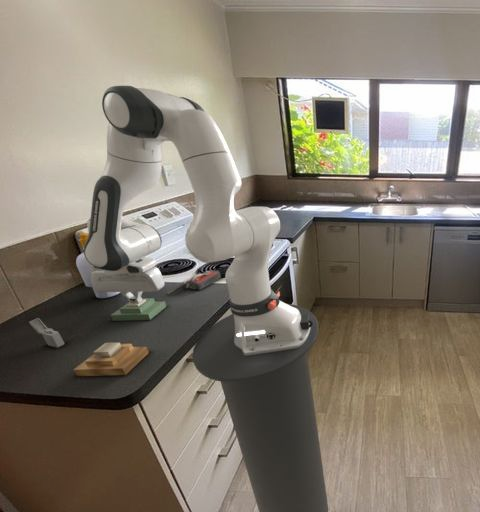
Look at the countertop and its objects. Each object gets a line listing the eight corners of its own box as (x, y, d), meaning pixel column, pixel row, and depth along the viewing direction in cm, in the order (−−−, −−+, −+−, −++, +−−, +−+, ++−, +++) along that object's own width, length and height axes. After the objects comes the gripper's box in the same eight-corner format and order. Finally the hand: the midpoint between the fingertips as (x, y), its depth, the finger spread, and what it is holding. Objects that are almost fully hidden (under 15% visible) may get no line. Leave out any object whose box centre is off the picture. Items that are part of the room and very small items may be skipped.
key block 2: (148, 353, 80) (144, 341, 78) (125, 375, 72) (120, 362, 71) (104, 354, 79) (99, 342, 78) (76, 376, 72) (70, 363, 70)
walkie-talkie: (208, 274, 125) (164, 297, 108) (205, 265, 124) (161, 286, 106) (224, 276, 123) (183, 300, 105) (222, 267, 121) (179, 289, 104)
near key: (122, 348, 76) (119, 342, 75) (110, 358, 73) (107, 351, 72) (108, 348, 76) (105, 342, 75) (96, 358, 73) (93, 352, 72)
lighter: (65, 343, 83) (52, 320, 80) (57, 347, 82) (44, 324, 79) (48, 339, 85) (35, 317, 82) (40, 343, 84) (27, 320, 80)
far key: (147, 304, 98) (145, 299, 98) (139, 310, 95) (137, 304, 94) (137, 304, 98) (135, 299, 98) (128, 310, 95) (126, 305, 94)
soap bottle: (97, 303, 104) (69, 240, 94) (86, 296, 108) (58, 235, 99) (132, 291, 112) (109, 232, 102) (120, 285, 116) (97, 228, 107)
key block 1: (166, 306, 101) (163, 296, 100) (150, 319, 94) (146, 309, 93) (132, 307, 101) (128, 297, 100) (112, 320, 94) (108, 310, 92)
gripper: (78, 268, 87) (95, 307, 93) (146, 268, 88) (160, 306, 93) (96, 260, 93) (112, 297, 99) (160, 259, 94) (172, 296, 99)
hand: (136, 301), depth 96 cm, fingers closed, pressing on far key
